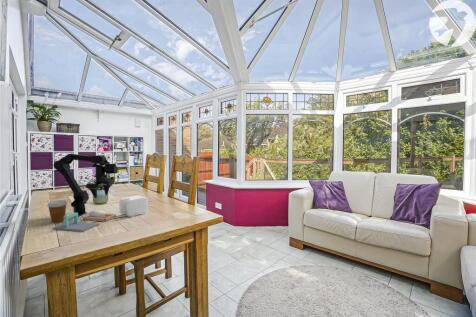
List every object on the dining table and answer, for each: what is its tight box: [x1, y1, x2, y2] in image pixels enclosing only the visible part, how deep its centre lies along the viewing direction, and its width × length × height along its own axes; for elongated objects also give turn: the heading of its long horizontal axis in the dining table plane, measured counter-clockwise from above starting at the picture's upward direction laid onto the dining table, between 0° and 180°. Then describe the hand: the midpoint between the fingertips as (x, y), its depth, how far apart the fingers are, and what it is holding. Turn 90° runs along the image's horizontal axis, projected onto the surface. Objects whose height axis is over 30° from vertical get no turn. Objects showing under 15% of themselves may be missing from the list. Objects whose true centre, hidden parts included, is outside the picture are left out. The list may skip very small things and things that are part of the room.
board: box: [52, 220, 100, 233], centre depth 132 cm, size 20×11×1 cm, turn 78°
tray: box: [83, 213, 117, 223], centre depth 148 cm, size 16×9×2 cm, turn 78°
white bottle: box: [89, 210, 109, 218], centre depth 148 cm, size 11×4×4 cm, turn 78°
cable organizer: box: [118, 194, 149, 218], centre depth 157 cm, size 15×11×12 cm
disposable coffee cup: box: [47, 200, 68, 224], centre depth 142 cm, size 10×10×12 cm
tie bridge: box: [63, 212, 79, 227], centre depth 133 cm, size 2×7×6 cm, turn 168°
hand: (101, 196), depth 157 cm, fingers open, 9 cm apart
